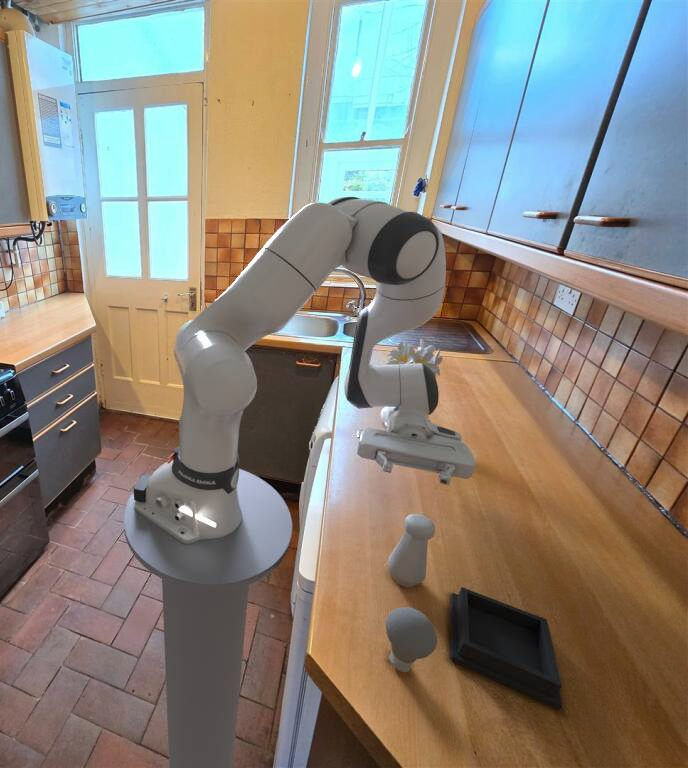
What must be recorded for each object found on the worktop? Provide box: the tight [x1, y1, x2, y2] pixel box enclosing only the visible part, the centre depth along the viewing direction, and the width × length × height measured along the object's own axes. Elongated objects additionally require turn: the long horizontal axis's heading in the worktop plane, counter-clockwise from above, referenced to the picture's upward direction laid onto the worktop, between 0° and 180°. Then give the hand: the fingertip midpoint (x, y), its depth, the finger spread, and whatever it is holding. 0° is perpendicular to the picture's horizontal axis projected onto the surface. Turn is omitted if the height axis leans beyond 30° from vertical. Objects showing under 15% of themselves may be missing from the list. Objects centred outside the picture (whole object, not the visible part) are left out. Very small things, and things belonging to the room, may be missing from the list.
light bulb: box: [385, 606, 438, 673], centre depth 55 cm, size 6×6×10 cm
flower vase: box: [380, 338, 443, 428], centre depth 110 cm, size 13×18×25 cm
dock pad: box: [449, 586, 563, 711], centre depth 59 cm, size 12×12×4 cm
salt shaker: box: [387, 513, 436, 589], centre depth 68 cm, size 6×6×13 cm
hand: (415, 475), depth 75 cm, fingers open, 8 cm apart
